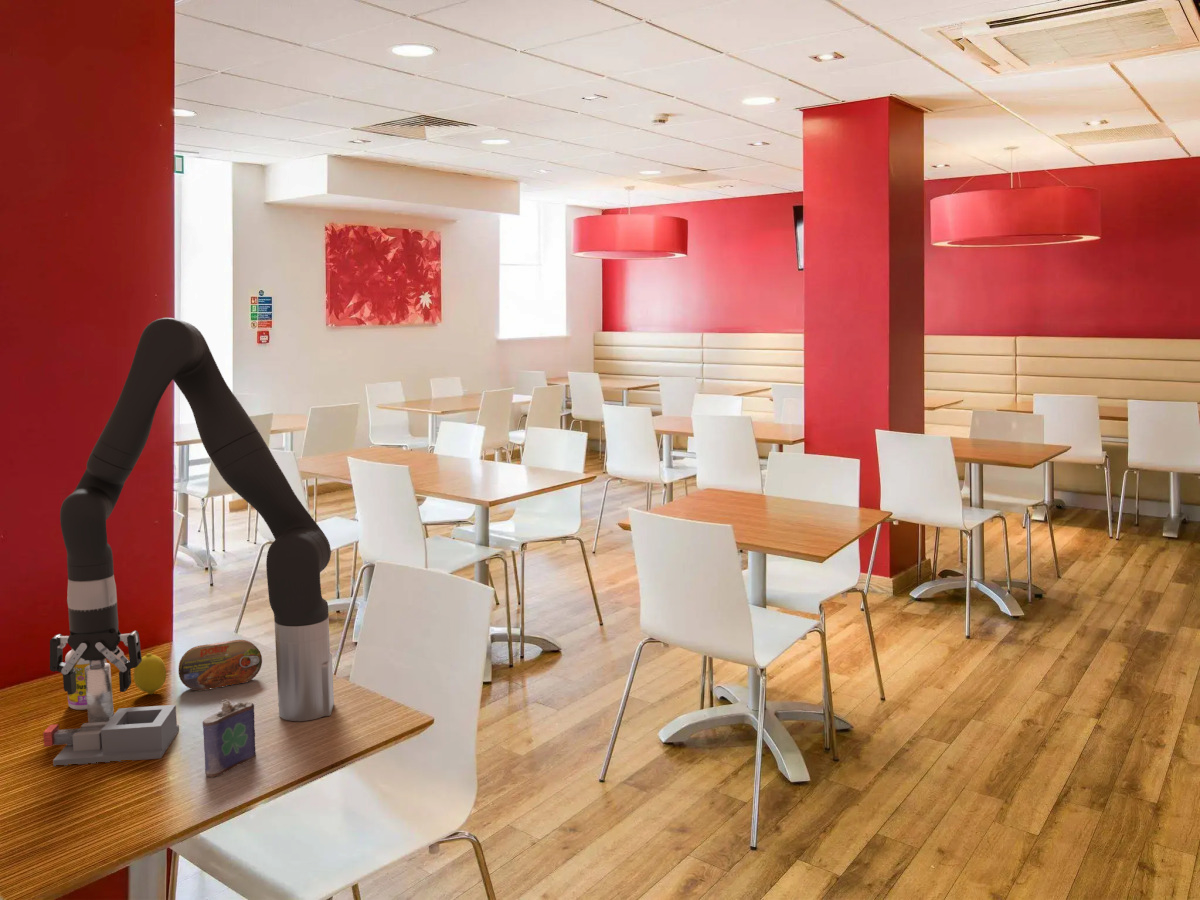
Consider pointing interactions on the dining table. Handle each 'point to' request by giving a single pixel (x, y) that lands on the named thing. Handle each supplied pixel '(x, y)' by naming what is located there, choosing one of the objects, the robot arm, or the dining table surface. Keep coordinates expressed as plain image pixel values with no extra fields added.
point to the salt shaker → (99, 691)
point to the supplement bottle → (78, 684)
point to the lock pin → (63, 735)
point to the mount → (124, 737)
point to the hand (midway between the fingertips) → (98, 691)
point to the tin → (219, 664)
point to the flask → (229, 738)
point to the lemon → (150, 673)
